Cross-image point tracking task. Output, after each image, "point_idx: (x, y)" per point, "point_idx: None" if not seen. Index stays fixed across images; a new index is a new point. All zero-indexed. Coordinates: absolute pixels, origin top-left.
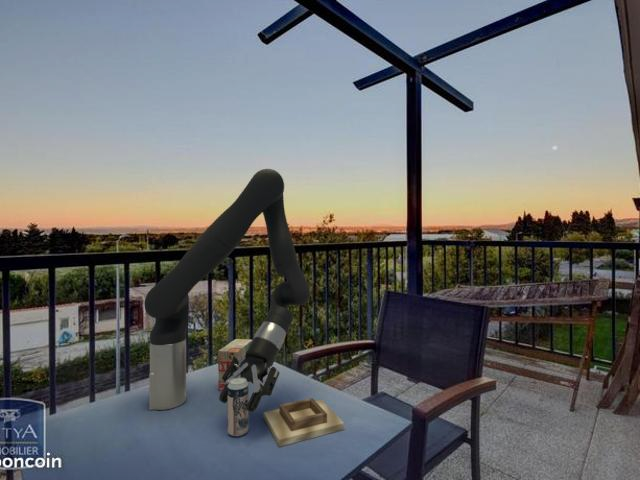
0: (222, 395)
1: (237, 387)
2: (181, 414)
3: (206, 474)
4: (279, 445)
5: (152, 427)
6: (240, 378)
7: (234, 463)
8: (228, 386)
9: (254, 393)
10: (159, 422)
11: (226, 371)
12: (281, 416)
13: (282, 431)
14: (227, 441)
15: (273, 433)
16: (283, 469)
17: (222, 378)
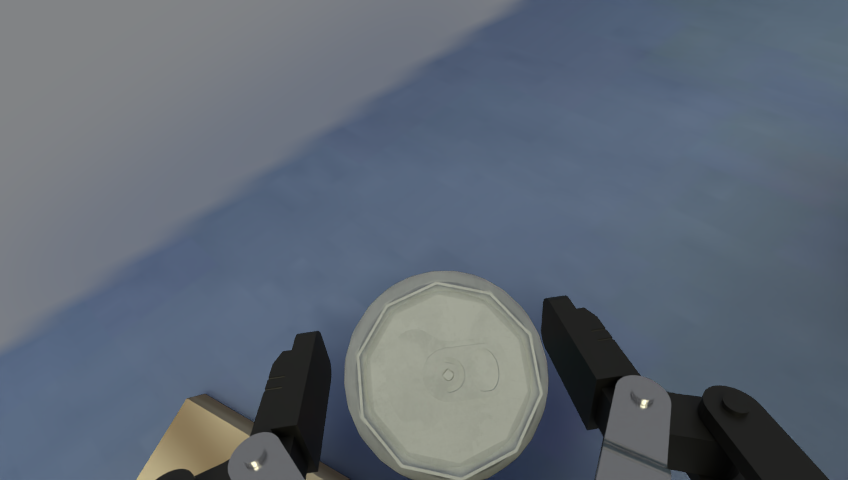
0: (561, 311)
1: (374, 307)
2: (768, 274)
3: (319, 134)
4: (201, 396)
5: (734, 150)
6: (495, 448)
7: (285, 218)
8: (475, 279)
9: (277, 420)
10: (758, 183)
11: (805, 470)
12: None
13: (216, 464)
14: None
15: None
16: (109, 304)
17: (732, 392)
